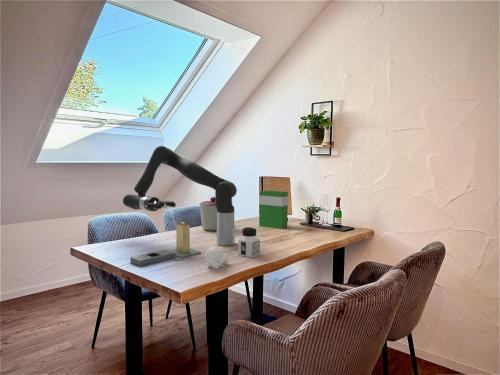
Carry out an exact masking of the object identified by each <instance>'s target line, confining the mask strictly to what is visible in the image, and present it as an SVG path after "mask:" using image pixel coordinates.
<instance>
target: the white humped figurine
mask: <svg viewBox="0 0 500 375" xmlns="http://www.w3.org/2000/svg"><path fill="white" fill-rule="evenodd" d="M229 258H230V256H229V254H227V253H224V252H223V251H222V249H221V248H218V247H213V246H212V247H209V248H207V250H206V251H205V253H204V260H205V263H206V266H207V267H208V268H211V267H212V268H213V269H215V270H219V268H220V265H222V264H223V265H227V264H228V262H229ZM216 263H217V264H218V265H217V264H216Z"/></svg>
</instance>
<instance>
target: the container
mask: <svg viewBox="0 0 500 375" xmlns="http://www.w3.org/2000/svg"><path fill="white" fill-rule="evenodd" d="M237 243H238V245H237V246H238V247H237V248H238V249H237V251H238V252H237V253H238V254H237V255H238V256H240V257H241V256H242V257H246V258H251V257H252V258H254V257H256V255H257V256H259V255H260V254H261V238H259V237H257V229H256V227H253V226H246V227H244V228H242V237H241V238H238V242H237Z"/></svg>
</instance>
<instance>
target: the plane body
mask: <svg viewBox="0 0 500 375" xmlns="http://www.w3.org/2000/svg"><path fill="white" fill-rule="evenodd" d="M171 251H172V250H167V249H163V250H157V251H154V252H149V253H143V254H138V255H134V256H130V257H129V258H130V259H129V260H130V262H129V263H130V264H133V265H135V266H138V267H144V266H149V265H152V264H157V263H160V262H165V261H168V260H172V259H176V257H175V252H171Z"/></svg>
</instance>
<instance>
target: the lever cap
mask: <svg viewBox="0 0 500 375" xmlns="http://www.w3.org/2000/svg"><path fill="white" fill-rule="evenodd" d="M190 226H191V225H190V224H188V222H183V221H179V222H178V224H176V227H175V230H176V232H175V233H176V235H175V236H176V238H175V239H176V243H175V244H176V246H175V247H176V248H175V250H177V252H179V253H188V252H190V249H191V241H190V240H191V239H190V236H191V234H190V233H191V232H190V230H191V228H190Z"/></svg>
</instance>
